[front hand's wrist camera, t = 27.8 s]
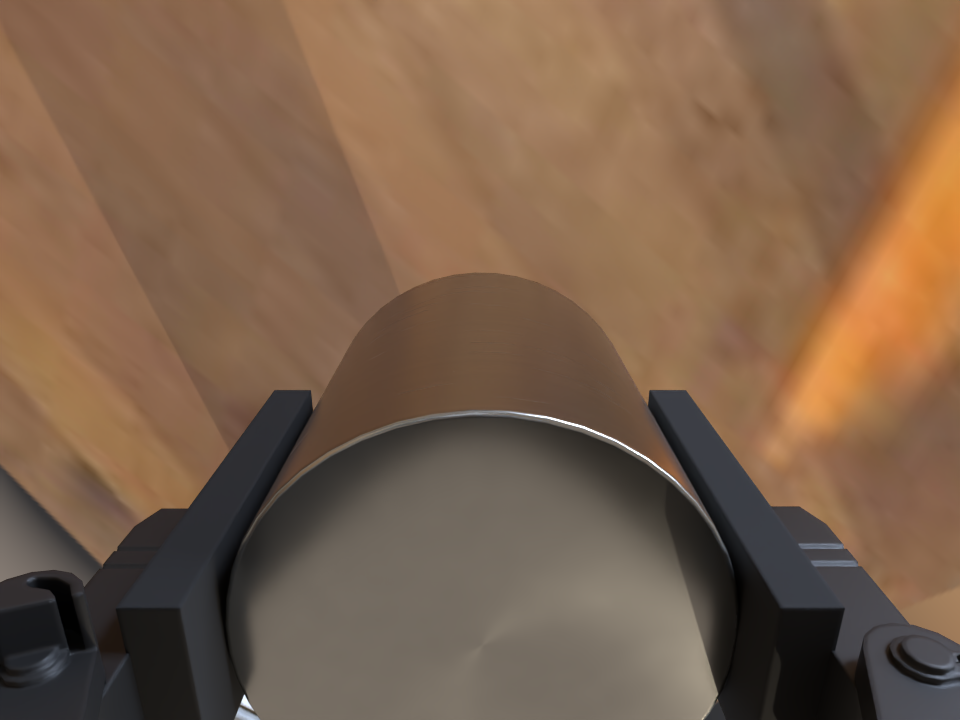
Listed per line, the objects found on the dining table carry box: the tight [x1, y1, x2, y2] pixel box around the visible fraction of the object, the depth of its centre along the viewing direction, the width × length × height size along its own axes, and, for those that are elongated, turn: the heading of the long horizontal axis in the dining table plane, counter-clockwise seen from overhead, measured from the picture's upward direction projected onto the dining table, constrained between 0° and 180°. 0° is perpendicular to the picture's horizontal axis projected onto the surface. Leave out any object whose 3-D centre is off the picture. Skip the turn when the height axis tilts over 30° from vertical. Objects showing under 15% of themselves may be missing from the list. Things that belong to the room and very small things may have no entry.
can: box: [225, 273, 740, 720], centre depth 13 cm, size 7×7×7 cm
